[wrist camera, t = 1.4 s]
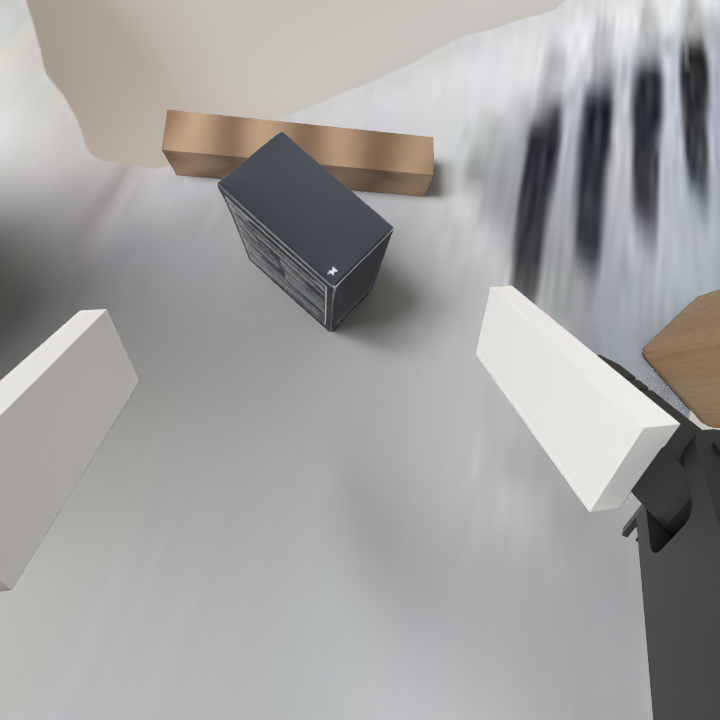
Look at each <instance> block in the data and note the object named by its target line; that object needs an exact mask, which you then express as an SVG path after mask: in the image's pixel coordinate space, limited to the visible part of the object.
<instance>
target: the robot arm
mask: <svg viewBox="0 0 720 720" xmlns="http://www.w3.org/2000/svg"><path fill="white" fill-rule="evenodd" d="M476 356H477V357H478V358H479V360H480V361H481V363H482V364H483V365H484V367H485V368H486V370H487V371H488V372H489V374H490V375H491V376H492V378H493V379H494V381H495V382H496V383H497V385H498V386H499V388H500V389H501V390H502V392H503V393H504V395H505V396H506V397H507V399H508V400H509V401H510V403H511V404H512V406H513V407H514V408H515V410H516V411H517V413H518V414H519V415H520V417H521V418H522V419H523V421H524V422H525V424H526V425H527V426H528V428H529V429H530V431H531V432H532V433H533V435H534V436H535V437H536V439H537V440H538V442H539V443H540V444H541V446H542V447H543V449H544V450H545V451H546V453H547V454H548V456H549V457H550V458H551V460H552V461H553V462H554V464H555V465H556V467H557V468H558V469H559V471H560V472H561V474H562V475H563V476H564V478H565V479H566V480H567V482H568V483H569V485H570V486H571V487H572V489H573V490H574V492H575V493H576V494H577V496H578V497H579V498H580V500H581V501H582V503H583V504H584V505H585V507H586V508H587V510H588V511H589V512H596V511H604V510H611V509H618V508H620V507H621V506H622V504H623V503H624V502H625V500H626V499H627V497H628V496H629V495H630V493H631V492H632V493H633V494H634V495H635V496H636V497H637V499H638V500H639V501H640V502H641V503H642V505H641V506H640V507H639V509H638V510H637V511H636V512H635V514H634V515H633V516H632V518H631V519H630V520H629V521H628V523H627V524H626V525H625V527H624V528H623V532H622V535H623V536H625V537H628V536H629V535H630V533H631V532H632V531H633V530H634V529H635V528H636V527H637V532H638V537H637V538H636V541H638V544H639V556H640V568H641V579H642V591H643V603H644V615H645V627H646V638H647V650H648V662H649V674H650V686H651V697H652V709H653V720H720V430H715V429H712V430H701V429H700V428H699V427H698V426H696V425H695V424H694V423H693V422H691V421H690V420H689V419H687V418H686V417H685V416H684V415H682V414H681V413H680V412H679V411H677V410H676V409H675V408H674V407H672V406H671V405H670V404H668V403H667V402H666V401H665V400H663V399H662V398H661V397H660V396H658V395H657V394H656V393H655V392H653V391H652V390H651V391H649V390H648V387H647V386H646V385H644V384H643V383H642V382H641V381H639V380H636V379H635V377H634V376H633V375H632V374H630V373H629V372H628V371H627V370H625V369H624V368H623V367H622V366H620V365H619V364H617V363H615V362H613V361H611V360H609V359H607V358H605V357H603V356H601V355H596V354H594V353H593V352H592V351H591V350H590V349H588V348H587V347H586V346H585V345H583V344H582V343H581V342H580V341H579V340H577V339H576V338H575V337H574V336H572V335H571V334H570V333H569V332H568V331H566V330H565V329H564V328H563V327H561V326H560V325H559V324H558V323H557V322H555V321H554V320H553V319H552V318H551V317H549V316H548V315H547V314H546V313H544V312H543V311H542V310H541V309H540V308H538V307H537V306H536V305H535V304H533V303H532V302H531V301H530V300H529V299H527V298H526V297H525V296H524V295H522V294H521V293H520V292H519V291H518V290H516V289H515V288H514V287H513V286H498V287H490V291H489V296H488V300H487V305H486V309H485V314H484V318H483V323H482V327H481V332H480V336H479V341H478V345H477V349H476ZM139 381H140V380H139V378H138V376H137V374H136V371H135V369H134V367H133V365H132V363H131V360H130V358H129V356H128V354H127V352H126V349H125V347H124V345H123V343H122V341H121V338H120V336H119V334H118V332H117V330H116V327H115V325H114V323H113V321H112V319H111V316H110V314H109V312H108V310H107V309H98V310H80V311H79V312H78V313H77V314H75V315H74V316H73V317H72V318H71V319H70V320H69V321H67V322H66V323H65V324H64V325H63V326H62V327H61V328H59V329H58V330H57V331H56V332H55V333H54V334H53V335H52V336H50V337H49V338H48V339H47V340H46V341H45V342H44V343H42V344H41V345H40V346H39V347H38V348H37V349H36V350H35V351H33V352H32V353H31V354H30V355H29V356H28V357H27V358H25V359H24V360H23V361H22V362H21V363H20V364H19V365H18V366H16V367H15V368H14V369H13V370H12V371H11V372H10V373H8V374H7V375H6V376H5V377H4V378H3V379H2V380H0V591H7V590H12V589H13V587H14V585H15V584H16V582H17V581H18V579H19V577H20V576H21V574H22V572H23V571H24V569H25V567H26V566H27V564H28V563H29V561H30V559H31V558H32V556H33V554H34V553H35V551H36V549H37V548H38V546H39V545H40V543H41V541H42V540H43V538H44V536H45V535H46V533H47V531H48V530H49V528H50V527H51V525H52V523H53V522H54V520H55V518H56V517H57V515H58V513H59V512H60V510H61V509H62V507H63V505H64V504H65V502H66V500H67V499H68V497H69V495H70V494H71V492H72V491H73V489H74V487H75V486H76V484H77V482H78V481H79V479H80V477H81V476H82V474H83V473H84V471H85V469H86V468H87V466H88V464H89V463H90V461H91V459H92V458H93V456H94V455H95V453H96V451H97V450H98V448H99V446H100V445H101V443H102V441H103V440H104V438H105V437H106V435H107V433H108V432H109V430H110V428H111V427H112V425H113V423H114V422H115V420H116V419H117V417H118V415H119V414H120V412H121V410H122V409H123V407H124V405H125V404H126V402H127V401H128V399H129V397H130V396H131V394H132V392H133V391H134V389H135V387H136V386H137V384H138V383H139Z"/></svg>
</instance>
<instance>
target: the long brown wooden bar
mask: <svg viewBox="0 0 720 720" xmlns="http://www.w3.org/2000/svg"><path fill="white" fill-rule="evenodd" d="M280 132H284V133H285V134H286V135H287V136H289V137H290V138H291V139H292V140H293V141H294V142H295V143H296V144H298V145H299V146H300V147H301V148H302V149H303V150H304V151H306V152H307V153H308V154H309V155H310V156H311V157H312V158H314V159H315V160H316V161H317V162H318V163H319V164H321V165H322V166H323V167H324V168H325V169H326V170H327V171H329V172H330V173H331V174H332V175H333V176H334V177H335V178H337V179H338V180H339V181H340V182H341V183H342V184H344V185H345V186H346V187H347V188H348V189H349V190H355V191H367V192H378V193H390V194H401V195H413V196H425V194H426V192H427V189H428V187H429V185H430V183H431V180H432V178H433V176H434V153H433V137H425V136H415V135H405V134H396V133H386V132H376V131H367V130H357V129H347V128H338V127H328V126H318V125H309V124H299V123H290V122H280V121H269V120H260V119H251V118H241V117H231V116H222V115H211V114H203V113H193V112H183V111H173V110H167V117H166V125H165V131H164V139H163V146H162V151H163V152H164V154H165V156H166V158H167V159H168V161H169V163H170V164H171V166H172V168H173V169H174V171H175V173H176V174H177V175H183V176H195V177H206V178H218V179H223V178H225V177H226V176H227V175H228V174H229V173H231V172H232V171H233V170H234V169H235V168H237V167H238V166H239V165H240V164H241V163H243V162H244V161H245V160H246V159H248V158H249V157H250V156H251V155H252V154H253V153H255V152H256V151H257V150H258V149H259V148H261V147H262V146H263V145H264V144H266V143H267V142H268V141H269V140H271V139H272V138H273V137H274V136H276V135H277V134H279V133H280Z"/></svg>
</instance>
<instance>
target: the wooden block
mask: <svg viewBox="0 0 720 720" xmlns="http://www.w3.org/2000/svg"><path fill="white" fill-rule="evenodd" d="M643 355H644V357H645V359H646V360H647V361H648V362H649V363H650V364H651V365H652V367H653V368H654V369H655V370H656V371H657V372H658V373H659V375H660V376H661V377H662V378H663V379H664V380H665V381H666V383H667V384H668V385H669V386H670V387H671V388H672V389H673V390H674V392H675V393H676V394H677V395H678V396H679V397H680V398H681V400H682V401H683V402H684V403H685V404H686V405H687V406H688V407H689V409H690V410H691V411H692V412H693V413H694V414H695V415H696V416H697V418H698V419H699V420H700V421H701V422H702V423H704V424H706V425H707V426H710V427H714V428H720V290H717V291H714V292H711V293H708V294H705V295H702V296H699V297H697V298H696V299H695V300H694V301H692V302H691V303H690V304H689V305H688V306H687V307H686V308H685V309H684V310H683V311H682V312H681V313H680V314H679V315H678V316H677V317H676V318H675V319H674V320H673V321H672V322H671V323H670V324H668V325H667V326H666V327H665V328H664V329H663V330H662V331H661V332H660V333H659V334H658V335H657V336H656V337H655V338H654V339H653V340H652V341H651V342H650V343H649V344H648V345H647V346H646V347H645V348H644V350H643Z"/></svg>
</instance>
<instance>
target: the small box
mask: <svg viewBox="0 0 720 720" xmlns="http://www.w3.org/2000/svg"><path fill="white" fill-rule="evenodd" d="M218 188H219V190H220V192H221V194H222V195H223V197H224V199H225V201H226V203H227V205H228V208H229V210H230V212H231V214H232V217H233V220H234V222H235V224H236V227H237V229H238V231H239V234H240V236H241V239H242V241H243V244H244V246H245V249H246V252H247V254H248V257H249V259H250V260H251V261H252V262H253V263H254V264H255V265H256V266H257V267H258V268H259V269H261V270H262V271H263V272H264V273H265V274H266V275H267V276H268V277H269V278H270V279H272V280H273V281H274V283H276V284H277V285H278V286H279V287H280V288H281V289H282V290H284V291H285V292H286V293H287V294H288V295H289V296H290V297H291V298H293V299H294V300H295V302H296V303H298V304H299V305H300V306H301V307H302V308H304V309H305V310H306V311H307V312H308V313H309V314H310V315H311V316H312V317H313V318H315V319H316V320H317V321H318V322H319V323H320V324H321V325H323V326H324V327H325V328H326V329H327V330H328V331H334V329H335V328H337V326H338V324H339V323H340V322H341V321H343V319H344V318H345V317H346V316H347V315H348V314H349V313H350V311H352V309H353V308H355V307H356V306H357V304H359V302H361V301H362V300H363V299H364V298H365V297H366V296H367V294H368V293H369V292H370V291H371V290H372V288H373V285H374V282H375V279H376V276H377V273H378V271H379V268H380V265H381V262H382V259H383V257H384V254H385V251H386V249H387V246H388V243H389V240H390V237H391V234H392V232H393V229H394V228H393V227H392V226H391V225H390V224H389V223H388V222H386V221H385V220H384V219H383V218H382V217H381V216H380V215H378V214H377V213H376V212H375V211H374V210H373V209H371V208H370V207H369V206H368V205H367V204H366V203H364V202H363V201H362V200H361V199H360V198H359V197H357V196H356V195H355V194H354V193H353V192H352V191H350V190H349V189H348V188H347V187H346V186H345V185H344V184H342V183H341V182H340V181H339V180H338V179H337V178H335V177H334V176H333V175H332V174H331V173H330V172H329V171H327V170H326V169H325V168H324V167H323V166H322V165H321V164H319V163H318V162H317V161H316V160H315V159H314V158H312V157H311V156H310V155H309V154H308V153H307V152H306V151H304V150H303V149H302V148H301V147H300V146H299V145H298V144H296V143H295V142H294V141H293V140H292V139H291V138H290V137H289V136H287V135H286V134H285V133H284V132H280V133H279V134H277V135H276V136H274V137H273V138H272V139H271V140H269V141H268V142H267V143H266V144H264V145H263V146H262V147H261V148H259V149H258V150H257V151H256V152H255V153H253V154H252V155H251V156H250V157H249V158H248V159H246V160H245V161H244V162H243V163H241V164H240V165H239V166H238V167H237V168H235V169H234V170H233V171H232V172H231V173H229V174H228V175H227V176H226V177H225V178H223V179H222V180H221V181H220V182H218Z"/></svg>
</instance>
